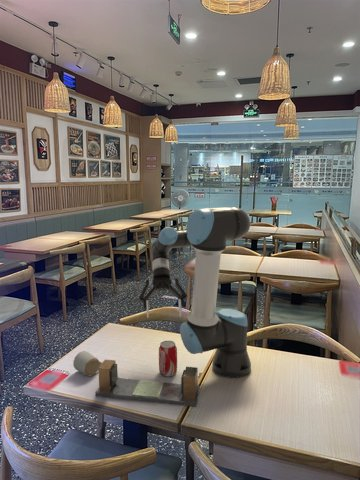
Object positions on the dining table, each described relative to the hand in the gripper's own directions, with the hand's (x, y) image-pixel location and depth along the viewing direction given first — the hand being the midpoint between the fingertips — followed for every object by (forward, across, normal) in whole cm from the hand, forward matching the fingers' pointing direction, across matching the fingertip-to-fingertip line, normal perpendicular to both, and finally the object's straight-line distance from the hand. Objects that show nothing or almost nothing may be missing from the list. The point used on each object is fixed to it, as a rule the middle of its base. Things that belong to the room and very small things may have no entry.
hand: (164, 315), depth 144 cm
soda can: (+22, 0, -5) cm, 22 cm away
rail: (+30, +8, +3) cm, 31 cm away
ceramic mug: (+18, +30, -10) cm, 36 cm away
